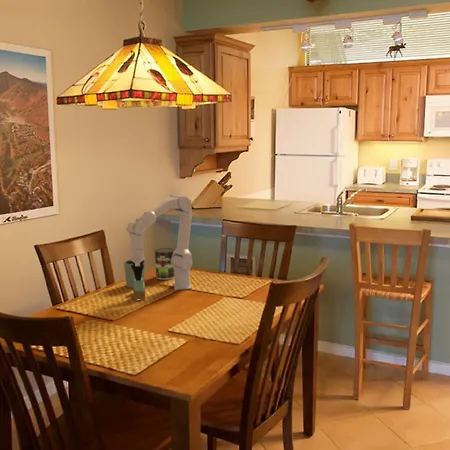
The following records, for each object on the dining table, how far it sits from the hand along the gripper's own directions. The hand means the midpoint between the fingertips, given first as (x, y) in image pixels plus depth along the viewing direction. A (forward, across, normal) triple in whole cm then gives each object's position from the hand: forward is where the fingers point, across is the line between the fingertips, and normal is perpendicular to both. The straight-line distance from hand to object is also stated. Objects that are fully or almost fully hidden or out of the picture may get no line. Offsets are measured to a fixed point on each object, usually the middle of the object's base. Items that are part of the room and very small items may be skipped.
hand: (138, 278), depth 244 cm
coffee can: (+10, -33, +13) cm, 37 cm away
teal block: (+6, 0, 0) cm, 6 cm away
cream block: (+9, -8, 0) cm, 12 cm away
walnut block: (+10, 0, 0) cm, 10 cm away
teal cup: (+10, -21, -2) cm, 23 cm away
